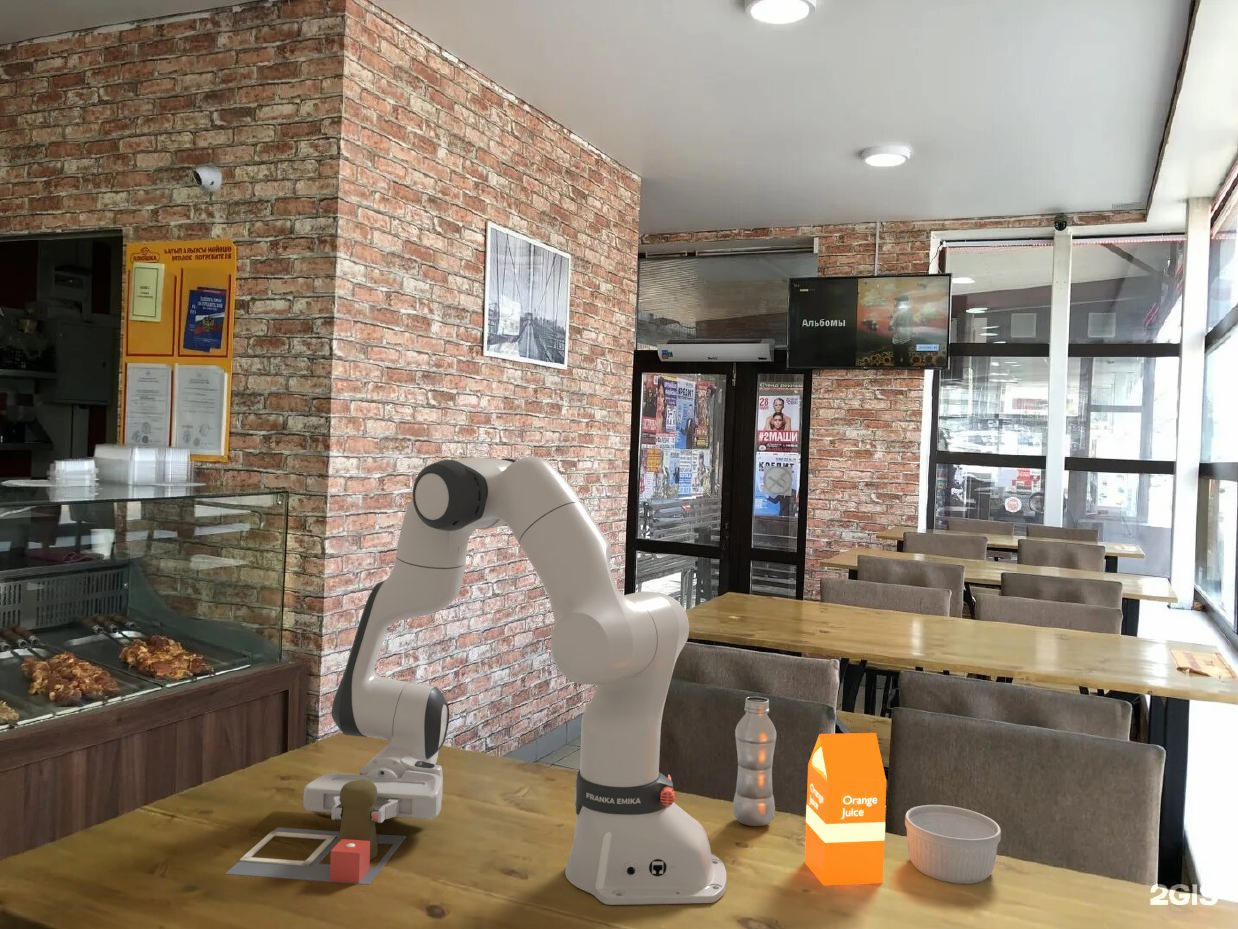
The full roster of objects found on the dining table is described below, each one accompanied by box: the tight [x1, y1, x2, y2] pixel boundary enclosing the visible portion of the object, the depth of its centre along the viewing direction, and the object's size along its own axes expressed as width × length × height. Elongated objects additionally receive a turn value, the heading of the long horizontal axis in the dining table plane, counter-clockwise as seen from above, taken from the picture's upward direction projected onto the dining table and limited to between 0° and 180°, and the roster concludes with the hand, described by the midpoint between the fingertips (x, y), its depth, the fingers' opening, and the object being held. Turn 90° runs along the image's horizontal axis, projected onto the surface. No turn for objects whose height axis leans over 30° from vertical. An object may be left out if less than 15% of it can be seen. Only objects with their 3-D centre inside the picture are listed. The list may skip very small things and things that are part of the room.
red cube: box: [329, 839, 371, 883], centre depth 132 cm, size 4×4×4 cm
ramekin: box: [904, 804, 1002, 885], centre depth 142 cm, size 13×13×7 cm
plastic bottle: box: [732, 696, 777, 827], centre depth 157 cm, size 6×7×20 cm
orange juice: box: [804, 732, 887, 886], centre depth 140 cm, size 8×9×20 cm
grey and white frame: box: [224, 827, 407, 886], centre depth 139 cm, size 20×16×1 cm
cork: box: [338, 780, 379, 860], centre depth 139 cm, size 6×6×11 cm
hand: (356, 816), depth 138 cm, fingers open, 4 cm apart
